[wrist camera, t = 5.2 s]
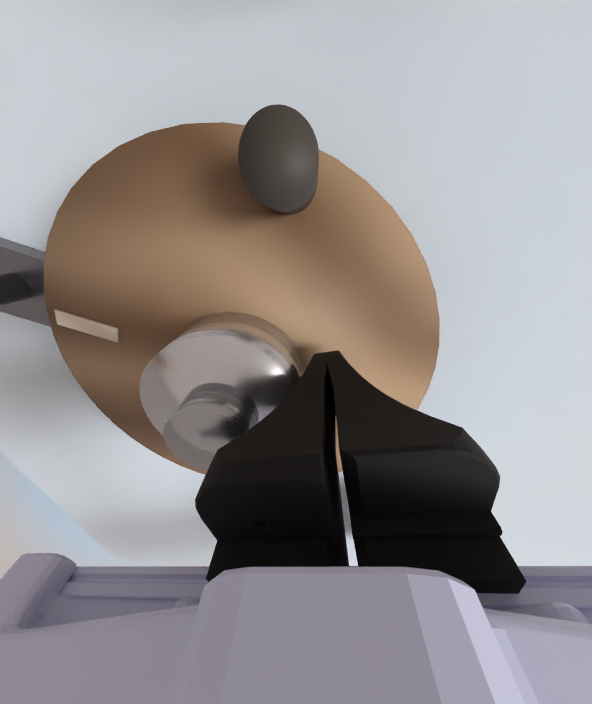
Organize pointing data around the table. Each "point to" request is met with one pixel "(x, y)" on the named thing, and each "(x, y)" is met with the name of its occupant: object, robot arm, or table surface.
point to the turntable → (233, 261)
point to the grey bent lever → (22, 282)
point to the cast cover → (218, 383)
